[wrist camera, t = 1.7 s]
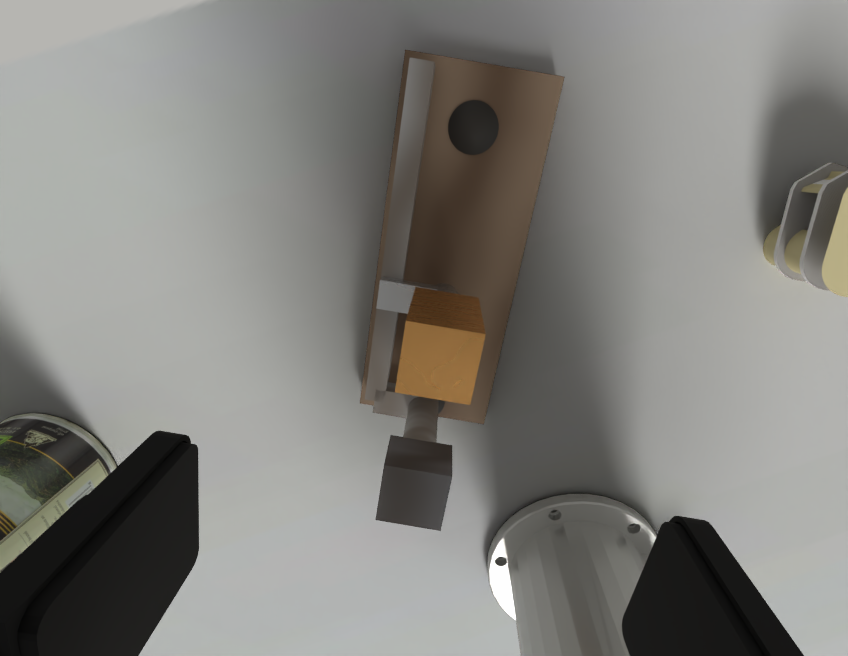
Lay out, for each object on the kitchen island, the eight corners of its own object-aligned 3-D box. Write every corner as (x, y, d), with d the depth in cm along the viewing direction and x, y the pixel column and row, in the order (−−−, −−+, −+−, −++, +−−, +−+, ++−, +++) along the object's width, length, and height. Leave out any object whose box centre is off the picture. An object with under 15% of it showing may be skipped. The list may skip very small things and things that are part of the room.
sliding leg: (474, 274, 27) (485, 334, 18) (464, 324, 28) (470, 405, 19) (386, 260, 27) (352, 311, 18) (379, 310, 28) (344, 383, 19)
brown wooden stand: (558, 81, 25) (630, 27, 15) (480, 418, 32) (494, 539, 22) (407, 56, 25) (378, -16, 15) (363, 398, 32) (321, 510, 22)
